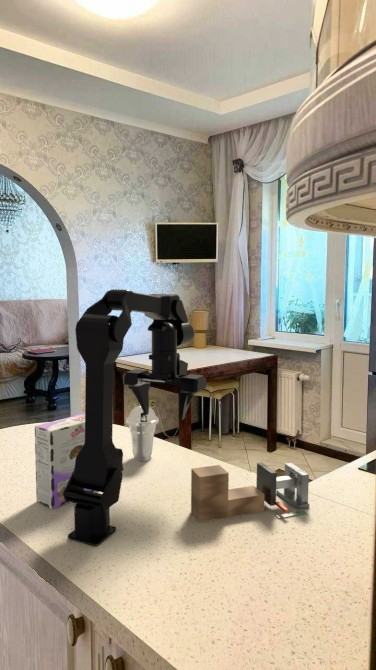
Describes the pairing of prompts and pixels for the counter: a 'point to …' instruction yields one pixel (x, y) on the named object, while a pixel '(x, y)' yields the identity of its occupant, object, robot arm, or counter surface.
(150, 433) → the cup with straw
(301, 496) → the gauge housing
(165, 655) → the counter surface
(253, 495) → the walnut block
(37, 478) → the candy box
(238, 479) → the counter surface
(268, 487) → the grey bracket
